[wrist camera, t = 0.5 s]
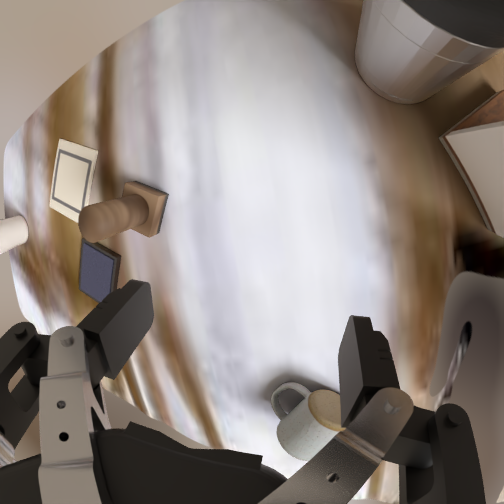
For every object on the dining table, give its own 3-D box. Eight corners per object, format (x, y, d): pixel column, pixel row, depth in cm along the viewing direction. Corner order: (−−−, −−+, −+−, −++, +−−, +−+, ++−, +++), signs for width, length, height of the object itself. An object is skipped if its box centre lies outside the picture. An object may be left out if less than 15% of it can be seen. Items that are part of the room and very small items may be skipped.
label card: (60, 138, 35) (59, 138, 35) (98, 151, 34) (96, 151, 34) (50, 206, 39) (49, 206, 39) (85, 225, 38) (83, 226, 38)
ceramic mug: (358, 397, 35) (357, 440, 27) (325, 429, 38) (319, 468, 31) (290, 366, 36) (278, 407, 29) (263, 401, 39) (248, 440, 32)
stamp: (136, 181, 34) (77, 191, 24) (168, 194, 33) (112, 208, 24) (127, 218, 36) (71, 238, 26) (159, 233, 35) (105, 258, 26)
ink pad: (86, 236, 38) (81, 238, 37) (121, 256, 37) (116, 258, 37) (82, 287, 42) (78, 289, 41) (114, 308, 41) (110, 311, 40)
